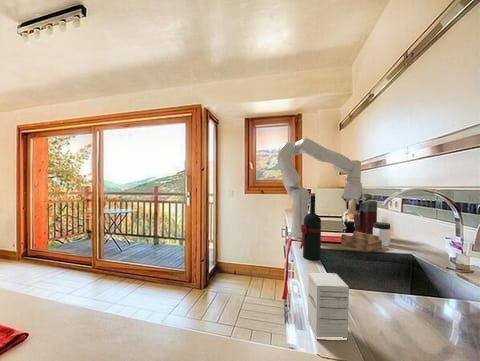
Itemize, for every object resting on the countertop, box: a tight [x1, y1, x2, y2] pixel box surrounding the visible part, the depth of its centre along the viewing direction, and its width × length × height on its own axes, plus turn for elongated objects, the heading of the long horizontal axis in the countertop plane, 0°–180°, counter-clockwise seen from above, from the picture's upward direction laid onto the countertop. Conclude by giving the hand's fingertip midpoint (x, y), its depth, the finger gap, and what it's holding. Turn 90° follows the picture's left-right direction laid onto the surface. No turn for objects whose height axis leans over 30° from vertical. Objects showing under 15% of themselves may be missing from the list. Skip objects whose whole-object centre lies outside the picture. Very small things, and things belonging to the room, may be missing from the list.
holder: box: [340, 230, 383, 253], centre depth 127 cm, size 15×14×6 cm
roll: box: [347, 199, 357, 215], centre depth 142 cm, size 5×5×11 cm
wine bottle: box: [299, 192, 322, 262], centre depth 106 cm, size 8×10×30 cm
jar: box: [373, 221, 392, 248], centre depth 131 cm, size 9×8×12 cm
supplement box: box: [307, 272, 350, 339], centre depth 55 cm, size 7×7×13 cm
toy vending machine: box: [353, 192, 378, 235], centre depth 148 cm, size 9×11×28 cm
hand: (352, 209), depth 142 cm, fingers closed on roll, 5 cm apart
